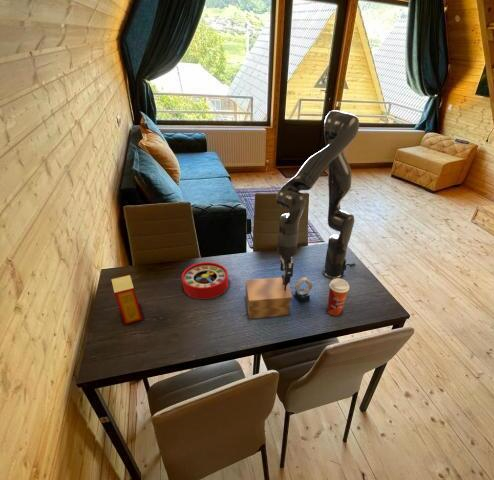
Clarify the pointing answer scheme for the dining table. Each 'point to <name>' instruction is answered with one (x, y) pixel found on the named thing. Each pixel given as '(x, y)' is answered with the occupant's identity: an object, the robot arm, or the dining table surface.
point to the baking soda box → (126, 299)
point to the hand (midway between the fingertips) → (284, 276)
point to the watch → (303, 290)
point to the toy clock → (205, 280)
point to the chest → (267, 308)
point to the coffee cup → (337, 296)
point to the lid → (268, 289)
